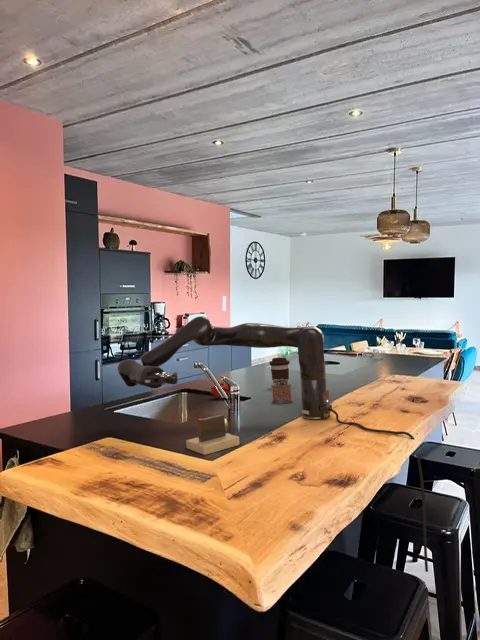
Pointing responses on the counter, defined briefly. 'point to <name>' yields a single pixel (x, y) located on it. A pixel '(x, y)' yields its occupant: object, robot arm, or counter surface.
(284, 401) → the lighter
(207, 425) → the dark brown block
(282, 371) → the coffee cup
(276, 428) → the counter surface
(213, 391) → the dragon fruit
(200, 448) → the beige square slab
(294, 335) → the robot arm
